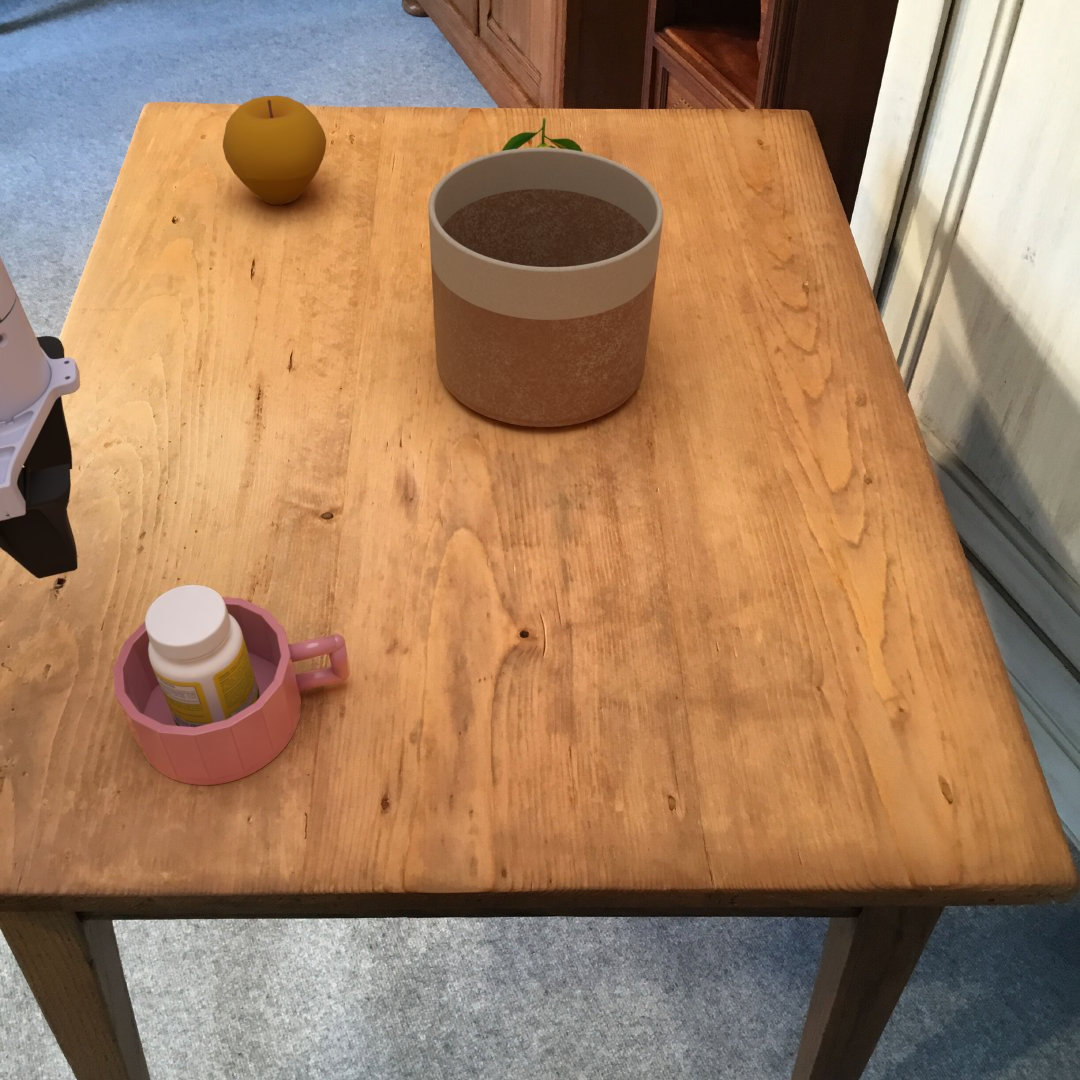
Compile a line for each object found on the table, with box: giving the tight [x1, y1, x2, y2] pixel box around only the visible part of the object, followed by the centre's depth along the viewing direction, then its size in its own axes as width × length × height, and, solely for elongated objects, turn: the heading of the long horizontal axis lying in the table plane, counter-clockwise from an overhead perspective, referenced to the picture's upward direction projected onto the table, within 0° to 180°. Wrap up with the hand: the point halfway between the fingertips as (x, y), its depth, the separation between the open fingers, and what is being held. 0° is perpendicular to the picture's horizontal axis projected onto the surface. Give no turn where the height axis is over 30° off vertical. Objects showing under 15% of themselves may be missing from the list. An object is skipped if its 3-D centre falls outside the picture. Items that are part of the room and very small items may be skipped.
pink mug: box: [112, 596, 351, 786], centre depth 60 cm, size 12×9×5 cm
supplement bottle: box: [144, 584, 260, 727], centre depth 58 cm, size 5×5×8 cm
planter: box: [427, 147, 664, 428], centre depth 78 cm, size 16×16×14 cm
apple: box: [222, 95, 327, 206], centre depth 96 cm, size 9×9×9 cm
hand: (55, 517), depth 58 cm, fingers open, 7 cm apart
